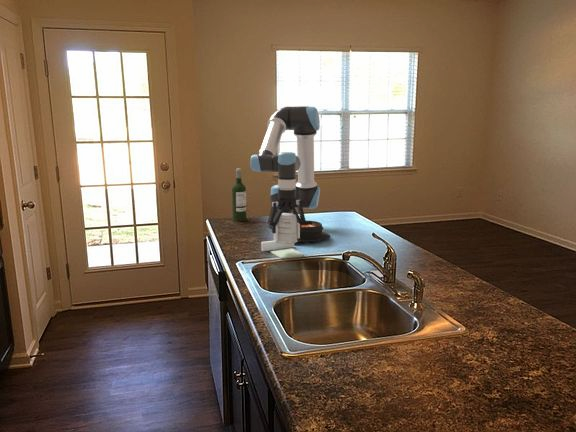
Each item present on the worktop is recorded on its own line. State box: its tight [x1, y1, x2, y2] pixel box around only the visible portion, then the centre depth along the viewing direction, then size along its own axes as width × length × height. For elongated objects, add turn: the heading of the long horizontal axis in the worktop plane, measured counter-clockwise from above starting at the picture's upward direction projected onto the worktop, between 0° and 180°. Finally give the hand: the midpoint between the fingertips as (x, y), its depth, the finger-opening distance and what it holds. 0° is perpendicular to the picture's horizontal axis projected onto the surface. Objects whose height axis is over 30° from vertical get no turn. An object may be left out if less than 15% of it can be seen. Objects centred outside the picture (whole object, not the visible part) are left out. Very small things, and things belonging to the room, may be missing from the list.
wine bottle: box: [231, 167, 247, 222], centre depth 277 cm, size 8×8×30 cm
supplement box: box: [276, 213, 298, 245], centre depth 210 cm, size 7×7×13 cm
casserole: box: [296, 220, 332, 244], centre depth 235 cm, size 25×19×8 cm
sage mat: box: [269, 247, 304, 260], centre depth 212 cm, size 11×11×1 cm
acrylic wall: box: [260, 239, 295, 252], centre depth 220 cm, size 16×1×4 cm, turn 116°
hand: (286, 239), depth 211 cm, fingers closed on supplement box, 10 cm apart
